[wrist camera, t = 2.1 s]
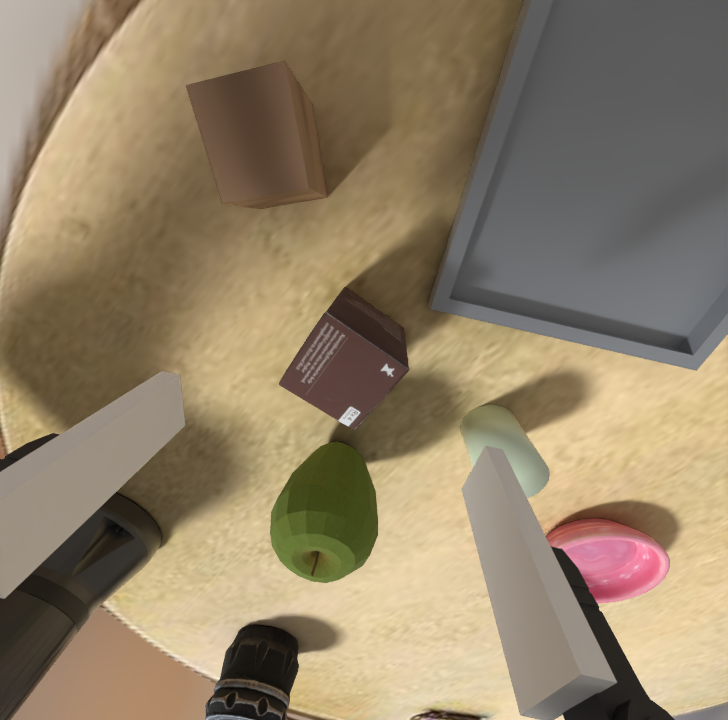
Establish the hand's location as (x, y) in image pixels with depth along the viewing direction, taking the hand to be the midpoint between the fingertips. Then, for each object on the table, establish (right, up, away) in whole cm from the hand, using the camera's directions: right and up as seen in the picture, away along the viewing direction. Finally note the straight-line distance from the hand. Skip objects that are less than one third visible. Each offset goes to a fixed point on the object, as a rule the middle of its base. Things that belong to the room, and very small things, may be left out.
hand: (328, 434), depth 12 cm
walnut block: (-4, +16, +6) cm, 18 cm away
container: (-16, -47, +38) cm, 63 cm away
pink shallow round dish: (+27, -18, +20) cm, 38 cm away
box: (+1, +5, +12) cm, 13 cm away
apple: (-1, -6, +17) cm, 18 cm away
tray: (+18, +14, +5) cm, 24 cm away
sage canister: (+13, -3, +14) cm, 20 cm away
